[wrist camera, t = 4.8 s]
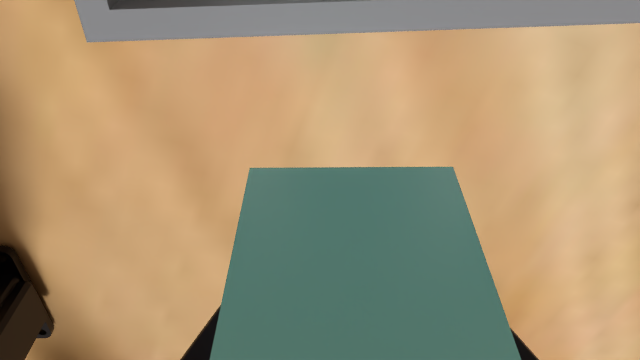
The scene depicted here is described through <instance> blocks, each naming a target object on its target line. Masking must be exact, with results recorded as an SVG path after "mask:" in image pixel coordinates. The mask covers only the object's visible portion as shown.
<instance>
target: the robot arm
mask: <svg viewBox="0 0 640 360" xmlns="http://www.w3.org/2000/svg"><path fill="white" fill-rule="evenodd" d="M220 308H221V305H220V307H219V308H218V309H217V311H216V312H215V313H214V315H213V316H212V317H211V319H210V320H209V321H208V323H207V324H206V326H205V327H204V328H203V330H202V331H201V332H200V334H199V335H198V336H197V338H196V339H195V340H194V342H193V343H192V345H191V346H190V347H189V349H188V350H187V351H186V353H185V354H184V355H183V357H182V358H181V359H180V360H210V355H211V351H212V346H213V341H214V336H215V332H216V327H217V322H218V317H219V313H220ZM510 329H511V328H510ZM53 330H54V325H53V323H52V321H51V319H50V317H49V316H48V314H47V312H46V310H45V308H44V306H43V304H42V302H41V300H40V298H39V296H38V294H37V292H36V290H35V288H34V286H33V284H32V282H31V280H30V279H29V277H28V275H27V273H26V271H25V269H24V267H23V265H22V263H21V261H20V259H19V257H18V255H17V253H16V252H15V251H14V250H13V249H12V248H10V247H8V246H0V360H25V358H26V356H27V354H28V352H29V350H30V349H31V347H32V345H33V343H34V341H35V339H36V338H48V337H50V336H51V334H52V332H53ZM511 332H512V335H513V338H514V341H515V343H516V346H517V349H518V352H519V355H520V358H521V360H539V359H538V358H537V357H536V356H535V355H534V354H533V353H532V351H531V350H530V349H529V348H528V347H527V346H526V345H525V344H524V343H523V341H522V340H521V339H520V338H519V337H518V336H517V335H516V334H515V333H514V331H513V330H512V329H511Z"/></svg>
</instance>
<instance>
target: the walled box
mask: <svg viewBox="0 0 640 360" xmlns="http://www.w3.org/2000/svg"><path fill="white" fill-rule="evenodd" d="M74 1H75V4H76V8H77V11H78V14H79V17H80V21H81V24H82V27H83V30H84V34H85V37H86V40H87V42H108V41H137V40H166V39H194V38H223V37H252V36H280V35H309V34H338V33H366V32H395V31H424V30H452V29H481V28H510V27H538V26H567V25H596V24H624V23H640V0H74Z"/></svg>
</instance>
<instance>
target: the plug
mask: <svg viewBox="0 0 640 360" xmlns="http://www.w3.org/2000/svg"><path fill="white" fill-rule="evenodd" d="M210 360H521V358H520V355H519V352H518V349H517V346H516V343H515V341H514V338H513V335H512V332H511V329H510V327H509V324H508V321H507V318H506V315H505V312H504V310H503V307H502V304H501V301H500V298H499V296H498V293H497V290H496V287H495V284H494V281H493V279H492V276H491V273H490V270H489V267H488V265H487V262H486V259H485V256H484V253H483V250H482V248H481V245H480V242H479V239H478V236H477V233H476V231H475V228H474V225H473V222H472V219H471V217H470V214H469V211H468V208H467V205H466V202H465V200H464V197H463V194H462V191H461V188H460V186H459V183H458V180H457V177H456V174H455V171H454V169H453V167H341V168H250V170H249V174H248V179H247V184H246V189H245V194H244V198H243V203H242V208H241V213H240V217H239V222H238V227H237V232H236V236H235V241H234V246H233V251H232V255H231V260H230V265H229V270H228V274H227V279H226V284H225V289H224V294H223V298H222V303H221V308H220V313H219V317H218V322H217V327H216V332H215V336H214V341H213V346H212V351H211V355H210Z"/></svg>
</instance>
